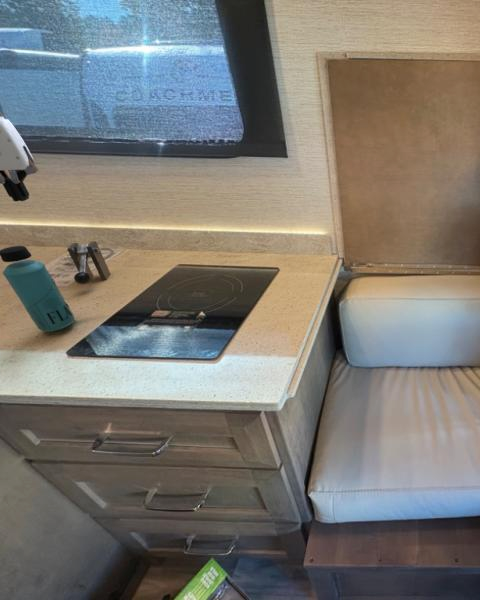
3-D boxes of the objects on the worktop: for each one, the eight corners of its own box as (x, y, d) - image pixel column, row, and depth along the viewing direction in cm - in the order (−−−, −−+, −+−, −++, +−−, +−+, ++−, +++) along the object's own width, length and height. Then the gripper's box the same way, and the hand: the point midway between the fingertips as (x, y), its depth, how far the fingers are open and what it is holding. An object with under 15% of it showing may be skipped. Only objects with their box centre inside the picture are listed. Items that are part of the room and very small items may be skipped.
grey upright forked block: (118, 286, 94) (101, 247, 88) (73, 291, 90) (52, 252, 84) (124, 275, 100) (108, 238, 94) (82, 280, 96) (62, 242, 90)
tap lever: (93, 285, 87) (86, 278, 85) (77, 287, 86) (70, 280, 84) (95, 250, 92) (89, 242, 90) (80, 251, 91) (74, 244, 89)
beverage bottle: (57, 339, 73) (6, 256, 63) (32, 335, 74) (-22, 252, 64) (86, 323, 79) (43, 244, 69) (62, 319, 80) (16, 241, 69)
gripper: (-91, 110, 63) (-32, 206, 73) (13, 113, 69) (56, 202, 78) (-65, 109, 69) (-13, 197, 79) (30, 112, 75) (68, 194, 84)
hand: (21, 199), depth 78 cm, fingers closed
